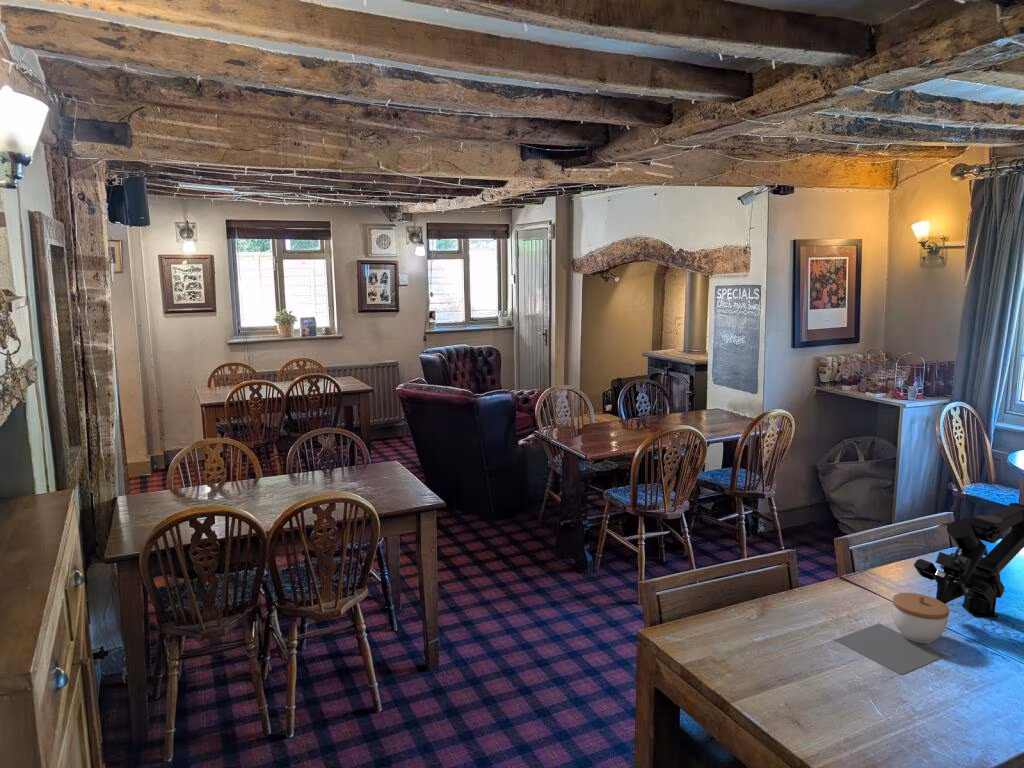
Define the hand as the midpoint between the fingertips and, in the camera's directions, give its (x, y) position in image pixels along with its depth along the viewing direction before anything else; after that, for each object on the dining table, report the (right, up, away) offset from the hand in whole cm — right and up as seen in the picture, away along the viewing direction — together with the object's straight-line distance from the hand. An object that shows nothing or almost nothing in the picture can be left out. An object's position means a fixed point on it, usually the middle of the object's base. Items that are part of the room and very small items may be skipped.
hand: (937, 605), depth 186 cm
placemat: (-17, -8, -8) cm, 20 cm away
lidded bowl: (-7, -7, -2) cm, 10 cm away
